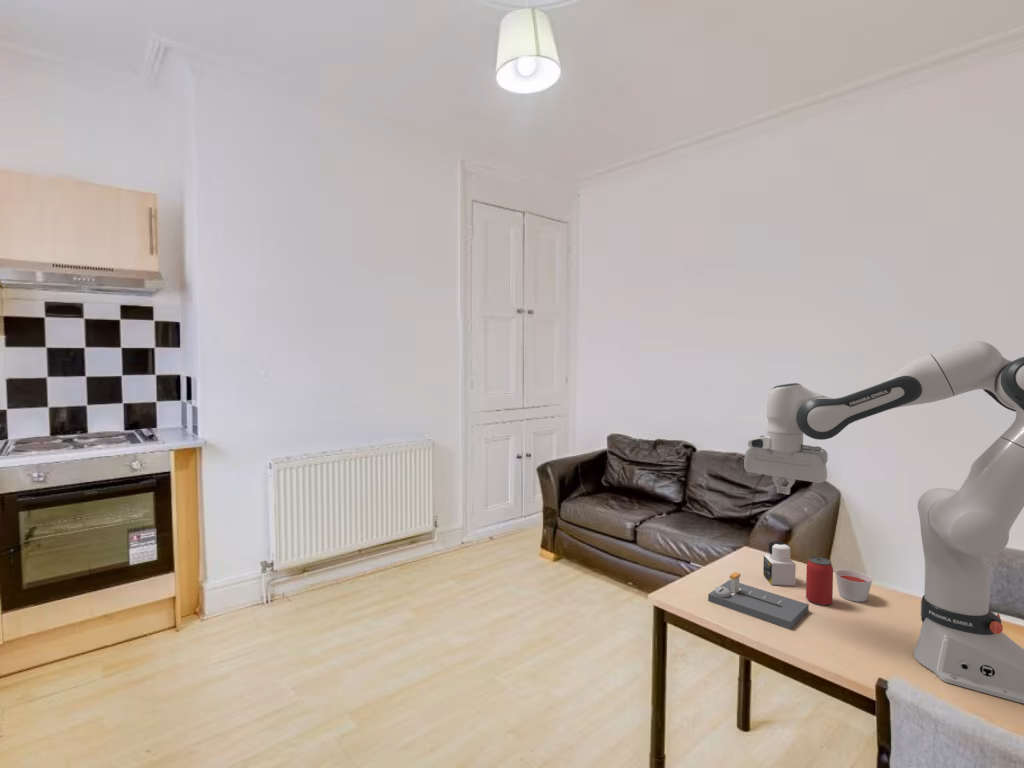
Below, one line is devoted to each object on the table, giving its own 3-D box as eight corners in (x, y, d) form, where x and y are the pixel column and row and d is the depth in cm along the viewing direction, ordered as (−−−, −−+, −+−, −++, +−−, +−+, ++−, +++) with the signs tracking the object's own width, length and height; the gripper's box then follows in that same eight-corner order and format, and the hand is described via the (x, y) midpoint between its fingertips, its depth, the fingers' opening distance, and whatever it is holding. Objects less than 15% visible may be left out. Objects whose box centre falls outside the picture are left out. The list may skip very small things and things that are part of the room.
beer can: (825, 596, 151) (826, 556, 151) (837, 606, 145) (838, 565, 144) (801, 595, 152) (802, 555, 151) (812, 605, 145) (813, 564, 145)
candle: (829, 589, 156) (829, 568, 155) (861, 591, 154) (862, 570, 154) (843, 603, 147) (844, 581, 147) (878, 605, 145) (878, 583, 145)
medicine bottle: (763, 575, 166) (763, 539, 165) (786, 576, 165) (787, 539, 164) (770, 585, 159) (771, 546, 158) (795, 586, 158) (796, 548, 157)
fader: (740, 589, 150) (740, 573, 150) (734, 593, 148) (735, 577, 148) (734, 587, 152) (735, 572, 151) (729, 591, 149) (729, 575, 149)
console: (808, 611, 142) (808, 598, 142) (790, 629, 132) (790, 615, 132) (729, 586, 158) (729, 574, 158) (708, 600, 148) (708, 588, 148)
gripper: (831, 446, 134) (830, 498, 135) (751, 437, 149) (750, 485, 150) (823, 449, 130) (822, 503, 130) (742, 440, 145) (741, 488, 145)
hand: (783, 493), depth 140 cm, fingers closed
